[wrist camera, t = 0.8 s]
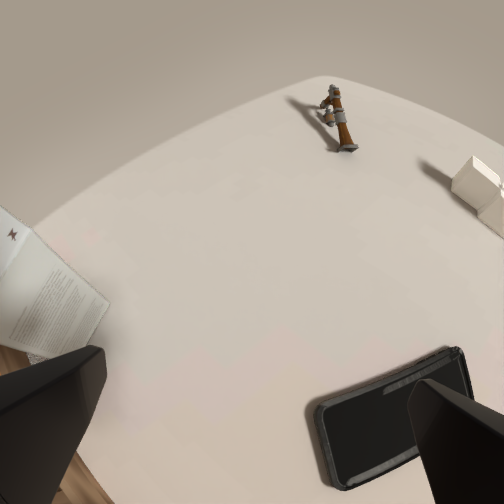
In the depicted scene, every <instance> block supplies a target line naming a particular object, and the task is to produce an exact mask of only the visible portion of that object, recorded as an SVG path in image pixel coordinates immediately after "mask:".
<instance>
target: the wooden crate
mask: <svg viewBox="0 0 504 504" xmlns="http://www.w3.org/2000/svg"><path fill="white" fill-rule="evenodd" d="M28 366H31V364H30V362H29V359H28V357H27V354H26V352H23V351H20V350H16V349H13V348H10V347H7V346H4V345H1V344H0V376H1V375H4V374H7V373H10V372H13V371H16V370H19V369H22V368H25V367H28ZM52 504H114V502H113V501H112V500H111V499H110V497H109V496H108V495H107V494H106V492H105V491H104V490H103V488H102V487H101V486H100V485H99V483H98V482H97V480H96V479H95V478H94V476H93V475H92V474H91V472H90V471H89V469H88V468H87V466H86V465H85V464H84V462H83V461H82V459H81V458H80V456H79V454H78V453H77V451H76V452H75V454H74V456H73V458H72V460H71V462H70V464H69V466H68V469H67V471H66V473H65V475H64V477H63V479H62V481H61V484H60V486H59V488H58V490H57V492H56V495H55V497H54V499H53V501H52Z"/></svg>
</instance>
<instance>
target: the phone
mask: <svg viewBox="0 0 504 504" xmlns="http://www.w3.org/2000/svg"><path fill="white" fill-rule="evenodd" d="M421 379H432V380H434V381H436V382H438V383H440V384H442V385H444V386H445V387H447V388H449V389H451V390H453V391H455V392H457V393H459V394H461V395H463V396H465V397H467V398H470V399H472V400H474V395H473V390H472V385H471V381H470V376H469V372H468V368H467V364H466V360H465V356H464V353H463V351H462V349H461V348H459V347H457V346H454V347H451V348H448V349H446V350H443V351H441V352H439V353H438V354H436V355H433V356H431V357H428V358H426V360H425V359H424V360H422V361H420V362H418V363H417V364H416V365H414V366H412V367H409V368H407V369H405V370H403V371H401V372H398V373H396V374H394V375H391V376H389V377H387V378H384V379H382V380H380V381H377V382H375V383H372V384H370V385H367V386H364V387H362V388H359V389H357V390H354V391H351V392H348V393H346V394H343V395H340V396H337V397H334V398H331V399H328V400H325V401H323V402H321V403H320V404H319V405H318V406H317V407H316V409H315V411H314V421H315V425H316V429H317V433H318V437H319V441H320V445H321V449H322V452H323V456H324V460H325V464H326V468H327V472H328V476H329V480H330V483H331V485H332V486H334V487H335V488H336V489H338V490H340V491H348V490H351V489H354V488H356V487H358V486H361V485H363V484H365V483H367V482H370V481H372V480H374V479H376V478H378V477H380V476H382V475H384V474H386V473H388V472H390V471H392V470H394V469H396V468H398V467H400V466H402V465H404V464H406V463H408V462H409V461H411V460H413V459H415V458H417V457H418V456H420V454H419V451H418V448H417V444H416V441H415V436H414V432H413V428H412V424H411V420H410V416H409V412H408V408H407V403H408V400H409V398H410V395H411V393H412V391H413V389H414V387H415V385H416V383H417V382H418V381H419V380H421ZM474 401H475V400H474Z"/></svg>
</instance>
